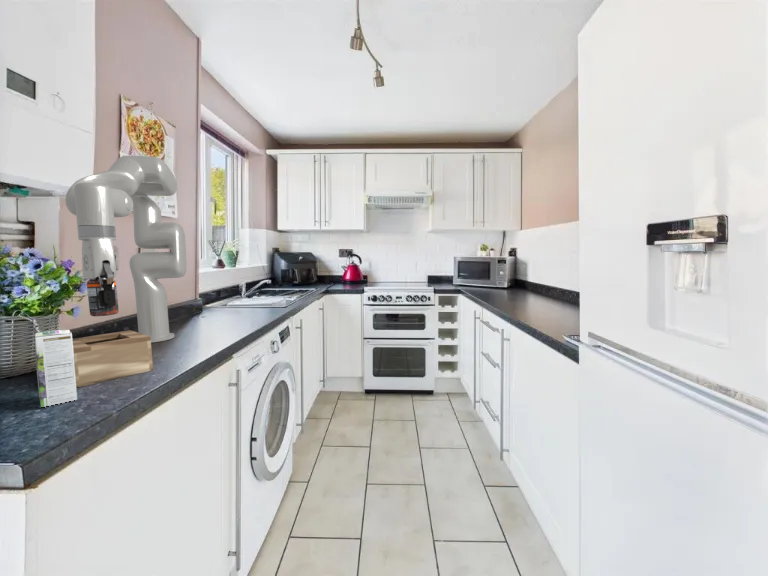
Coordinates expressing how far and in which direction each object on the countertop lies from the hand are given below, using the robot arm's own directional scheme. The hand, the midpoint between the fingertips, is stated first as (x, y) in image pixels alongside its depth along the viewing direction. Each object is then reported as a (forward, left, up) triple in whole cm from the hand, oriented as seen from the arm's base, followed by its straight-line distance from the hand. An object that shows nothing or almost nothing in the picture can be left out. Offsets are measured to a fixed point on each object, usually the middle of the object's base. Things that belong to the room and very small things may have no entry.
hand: (103, 304), depth 95 cm
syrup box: (+15, -12, -18) cm, 26 cm away
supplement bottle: (0, 0, -3) cm, 3 cm away
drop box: (0, 0, -18) cm, 18 cm away
